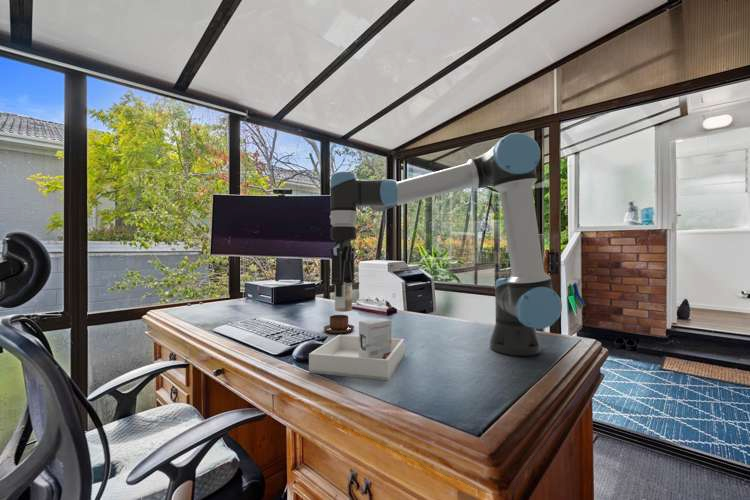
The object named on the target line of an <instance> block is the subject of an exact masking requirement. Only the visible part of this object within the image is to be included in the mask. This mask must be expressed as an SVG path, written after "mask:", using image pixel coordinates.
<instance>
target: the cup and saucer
mask: <svg viewBox="0 0 750 500" xmlns="http://www.w3.org/2000/svg"><path fill="white" fill-rule="evenodd" d="M348 327H349V328H351V329H349V330H348V329H347V328H348ZM329 328H331V330H327V329H329ZM354 329H355V326H354V325H353V324H349V316H348V315H346V314H333V315H331V316H330V315H329V324H328V325H325V326H324V327H323V331H325V332H327V333H330V334H336V333H339V334H347V333H350V332H352V331H353V330H354Z"/></svg>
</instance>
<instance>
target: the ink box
mask: <svg viewBox="0 0 750 500" xmlns="http://www.w3.org/2000/svg"><path fill="white" fill-rule="evenodd" d="M392 322H393V321H392V320H391V319H387V318H382V317H380V318H374V319H366V320H361V321H358V336H359V357H364V358H376V359H386V358H387V357H388V356H389V355H390V353H391V338H392Z"/></svg>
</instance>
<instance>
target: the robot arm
mask: <svg viewBox="0 0 750 500" xmlns="http://www.w3.org/2000/svg"><path fill="white" fill-rule="evenodd" d="M540 159H541V148H540V146H539V144H538V142H537V141H536V140H535V139H534V138H533V137H532V136H530V135H529V134H525V133H522V132H514V133H509V134H507V135H505V136H504V137H502V138H500V139H499V140H498V141H496V143H495V145H493V146H492V148H490V149H488V151H487V152H484V153H483V154H481V155H480V156H477V157H474V158H470V159H468V161H467V162H466V163H464V164H460V165H457V166H453V167H448V168H444V169H441V170H438V171H433V172H430V173H426V174H422V175H418V176H415V177H411V178H407V179H403V180H400V181H397V180H396V179H387V178H383V179H358V178H357V174H356V173H355V172H352V171H345V170H344V171H336V172H333V173H332V174H331V176H330V188H329V190H330V191H329V192H330V193H329V194H330V201H329V203H330V215H329V218H328V219H330V225H331V227H330V239H331V240H333V241H335V243H334V244H335V245H334V247H331V248H330V253H331V285H332V286H334V309H335V308H345V285H351V286H352V287H353V285H352V284H354V283H355V281H356V280H355V252H356V249H355V247H352V241H355V240H357V227H355V226H356V225H357V218H358V217H357V213H358V212H357V206H359V207H361V206H362V207H365V206H366V207H369V208H370V209H371V210H373V211H375V212H384V211H386V210H387V209H392V208H395V207H398V206H401V205H406V204H409V203H413V202H418V201H421V200H422V201H423V200H424V199H425V200H426V199H429V198H433V197H437V196H441V195H445V194H450V193H453V192H456V191H461V190H465V189H469V188H473V189H475V190H477V189H481V188H485V187H491V186H493V189H494V190H495V191H497V192H498V193H499V197H500V203H501V209H502V210H501V211H502V216H503V222H504V223H503V224H504V231H505V238H506V243H507V245H506V246H507V252H508V259H509V264H510V265H509V266H510V273H511V274H510V276H509V277H504V278H503V277H502V278H498V279H496V281H495V287H494V290H495V294H494V295H495V301H494V302H495V325H494V328H493V331H492V334H491V336H490V340H489V348H490V349H491V350H493V351H494V352H497V353H500V354H504V355H509V356H510V355H511V356H521V357H522V356H523V357H524V356H527V357H528V356H534V355H538V354H540V353H541V343H540V341H539V337H538V334H537V331H536V329H537V330H540V329H541V330H542V329H546V328H550V327H551V326H552V325H554V324H555V323H556V321H558V320H559V318H560V316H561V314H562V310H563V302H562V299H561V298H560V296H559V295H558V293H556V291H554V289H553V284H552V283H553V282H552V278H551V276H550V274H548V273H546V272H545V269H544V264H543V263H544V262H543V257H542V255H543V254H542V250H541V241H540V236H539V227H538V221H537V214H536V212H537V211H536V205H535V200H534V192H533V186H534V185H535V183H536V182H537V181H538V178H537V169H536V167H537V166H538V164H539V163H540Z"/></svg>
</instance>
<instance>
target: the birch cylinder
mask: <svg viewBox="0 0 750 500" xmlns="http://www.w3.org/2000/svg"><path fill="white" fill-rule="evenodd" d="M334 311H336V312H339V313H340V312H343V313H344V312H351V311H353V285H352V286H351V285H345V308H335V307H334Z"/></svg>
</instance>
